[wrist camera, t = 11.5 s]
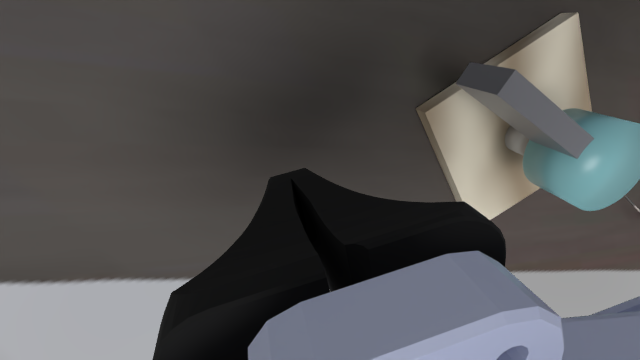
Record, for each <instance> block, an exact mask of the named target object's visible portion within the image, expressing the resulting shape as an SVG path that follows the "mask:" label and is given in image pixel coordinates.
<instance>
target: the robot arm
mask: <svg viewBox="0 0 640 360" xmlns="http://www.w3.org/2000/svg"><path fill="white" fill-rule="evenodd" d="M505 259H506V245H505V239H504V237H503V235H502V232H501V230H500V229H499V228H498V227H497V226H496V225H495V224H494V223H493V222H492V221H490V220H489V219H488V218H486V217H485V216H484V215H482V214H481V213H480V212H478V211H477V210H476V209H474V208H473V207H472V206H470V205H469V204H467V203H466V202H464V201H462V202H435V203H425V202H406V201H396V200H389V199H383V198H377V197H373V196H369V195H365V194H361V193H358V192H354V191H351V190H349V189H346V188H344V187H341V186H339V185H336V184H334V183H332V182H330V181H328V180H326V179H324V178H322V177H320V176H318V175H316V174H315V173H313V172H311V171H309V170H308V169H306V168H303V169H299V170H295V171H292V172H288V173H285V174H281V175H277V176H274V177H270V179H269V181H268V185H267V188H266V191H265V194H264V197H263V199H262V202H261V204H260V206H259V208H258V210H257V212H256V214H255V216H254V217H253V219H252V221H251V223H250V224H249V226H248V227H247V228H246V230H245V231H244V232H243V234H242V235H241V236H240V237H239V238H238V239H237V240H236V242H235V243H234V244H233V245H232V246H231V247H230V248H229V249H228V250H227V251H226V252H225V253H224V254H223V255H222V256H221V257H220V258H219V259H217V260H216V261H215V262H214V263H213V264H211V265H210V266H209V267H208V268H207V269H205V270H204V271H203V272H201V273H200V274H199V275H197V276H196V277H194V278H193V279H191V280H190V281H189V282H187V283H186V284H184V285H183V286H181V287H180V288H178V289H177V290H175V291H173V292H172V293H171V295H170V299H169V301H168V304H167V307H166V309H165V312H164V315H163V319H162V322H161V325H160V330H159V334H158V339H157V343H156V347H155V352H154V356H153V360H640V296H639V297H637V298H634V299H632V300H629V301H626V302H624V303H621V304H618V305H616V306H613V307H611V308H608V309H605V310H603V311H600V312H597V313H595V314H592V315H589V316H580V317H570V318H561V317H560V316H559V315H558V314H556V313H555V312H554V311H553V310H552V309H551V308H550V307H548V306H547V305H546V304H545V303H544V302H543V301H542V300H541V299H540V298H538V297H537V296H536V295H535V294H534V293H533V292H532V291H531V290H530V289H528V288H527V287H526V286H525V285H524V284H523V283H522V282H521V281H519V280H518V279H517V278H516V277H515V276H514V275H513V274H512V273H510V272H509V271H508V270H507V269H506V268H505ZM329 289H330V290H329Z"/></svg>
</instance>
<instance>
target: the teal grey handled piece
mask: <svg viewBox="0 0 640 360" xmlns="http://www.w3.org/2000/svg"><path fill="white" fill-rule="evenodd" d="M456 85H458V86H459V87H460V88H462V89H463V90H464V91H466V92H467V93H468V94H470V95H471V96H472V97H474V98H475V99H476V100H478V101H479V102H480V103H482V104H483V105H484V106H486V107H487V108H488V109H489V110H491V111H492V112H493V113H495V114H496V115H497V116H499V117H500V118H501V119H503V120H504V121H505V122H507V123H508V124H509V125H511V126H512V127H513V128H515V129H516V130H517V131H519V132H520V133H521V134H522V135H524V136H525V137H526V138H528V139H529V142H528V144H527V146H526V149H525V152H524V156H523V171H524V174H525V176H526V178H527V179H528V180H529V181H530V182H531V183H533V184H535V185H536V186H538V187H540V188H542V189H544V190H546V191H548V192H550V193H552V194H553V195H555V196H557V197H559V198H561V199H563V200H565V201H567V202H569V203H570V204H572V205H574V206H576V207H578V208H580V209H582V210H586V211H595V210H599V209H603V208H605V207H607V206H609V205H611V204H613V203H615V202H616V201H618V200H619V199H621V198H622V197H623V196H624V195H625V194H627V193H628V192H629V191H630V190H631V189H632V188H633V186H634V185H635V184H636V183H637V182H638V180H639V179H640V124H639V123H634V122H630V121H626V120H622V119H618V118H614V117H610V116H606V115H602V114H598V113H594V112H590V111H586V110H582V109H578V108H570V109H565V110H561V109H560V108H559V107H558V106H557V105H556V104H554V103H553V102H552V101H551V100H550V99H549V98H548V97H546V96H545V95H544V94H543V93H542V92H541V91H540V90H538V89H537V88H536V87H535V86H534V85H533V84H532V83H530V82H529V81H528V80H527V79H526V78H525V77H524V76H523V75H521V74H520V73H519V72H518V71H517V70H516V69H510V68H504V67H498V66H492V65H486V64H479V63H473V62H470V63H469V65H468V66H467V67H466V69H465V70H464V72H463V73H462V75H461V76H460V78H459V79H458V81H457V82H456Z"/></svg>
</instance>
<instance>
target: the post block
mask: <svg viewBox="0 0 640 360" xmlns="http://www.w3.org/2000/svg"><path fill="white" fill-rule="evenodd" d="M484 64H486V65H492V66H498V67H504V68H510V69H516V70H517V71H518V72H519V73H520V74H521V75H523V76H524V77H525V78H526V79H527V80H528V81H529V82H530V83H532V84H533V85H534V86H535V87H536V88H537V89H538V90H540V91H541V92H542V93H543V94H544V95H545V96H546V97H548V98H549V99H550V100H551V101H552V102H553V103H554V104H556V105H557V106H558V107H559V108H560V109H561V110H565V109H570V108H578V109H582V110H586V111H590V112H592V110H591V102H590V95H589V88H588V80H587V73H586V66H585V59H584V51H583V44H582V37H581V30H580V22H579V15H578V13H560V14H559V15H557V16H556V17H554V18H553V19H551V20H550V21H548V22H547V23H545V24H544V25H542V26H540V27H539V28H537V29H536V30H534V31H533V32H531V33H530V34H528V35H527V36H525V37H524V38H522V39H521V40H519V41H518V42H516V43H515V44H513V45H512V46H510V47H509V48H507V49H505V50H504V51H502V52H501V53H499V54H498V55H496V56H495V57H493V58H492V59H490V60H489V61H487V62H486V63H484ZM416 111H417V113H418V115H419V117H420V120H421V122H422V124H423V127H424V129H425V131H426V134H427V136H428V138H429V140H430V143H431V145H432V147H433V150H434V152H435V154H436V156H437V159H438V161H439V163H440V166H441V168H442V170H443V173H444V175H445V177H446V179H447V182H448V184H449V186H450V189H451V191H452V193H453V195H454V198H455V200H456V202H462V201H464V202H466V203H467V204H469V205H470V206H472V207H473V208H474V209H476V210H477V211H478V212H480V213H481V214H482V215H484V216H485V217H486V218H488V219H489V220H491V219H492V218H494V217H496V216H497V215H499V214H500V213H502V212H503V211H505V210H507V209H508V208H510V207H511V206H513V205H514V204H516V203H518V202H519V201H521V200H522V199H524V198H525V197H527V196H528V195H530V194H532V193H533V192H535V191H536V190H538V189H539V188H540V187H538V186H536V185H535V184H533V183H531V182H530V181H529V180H528V179H527V178H526V176H525V174H524V171H523V156H524V152H525V149H526V146H527V144H528V142H529V139H528V138H526V137H525V136H524V135H522V134H521V133H520V132H519V131H517V130H516V129H515V128H513V127H512V126H511V125H509V124H508V123H507V122H505V121H504V120H503V119H501V118H500V117H499V116H497V115H496V114H495V113H493V112H492V111H491V110H489V109H488V108H487V107H486V106H484V105H483V104H482V103H480V102H479V101H478V100H476V99H475V98H474V97H472V96H471V95H470V94H468V93H467V92H466V91H464V90H463V89H462V88H460V87H459V86H458V85H456V82H455V83H454V84H452V85H451V86H449V87H448V88H446V89H445V90H443V91H442V92H440V93H439V94H437V95H435V96H434V97H432V98H431V99H429V100H428V101H426V102H425V103H423V104H422V105H420V106H419V107H417V108H416Z"/></svg>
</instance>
